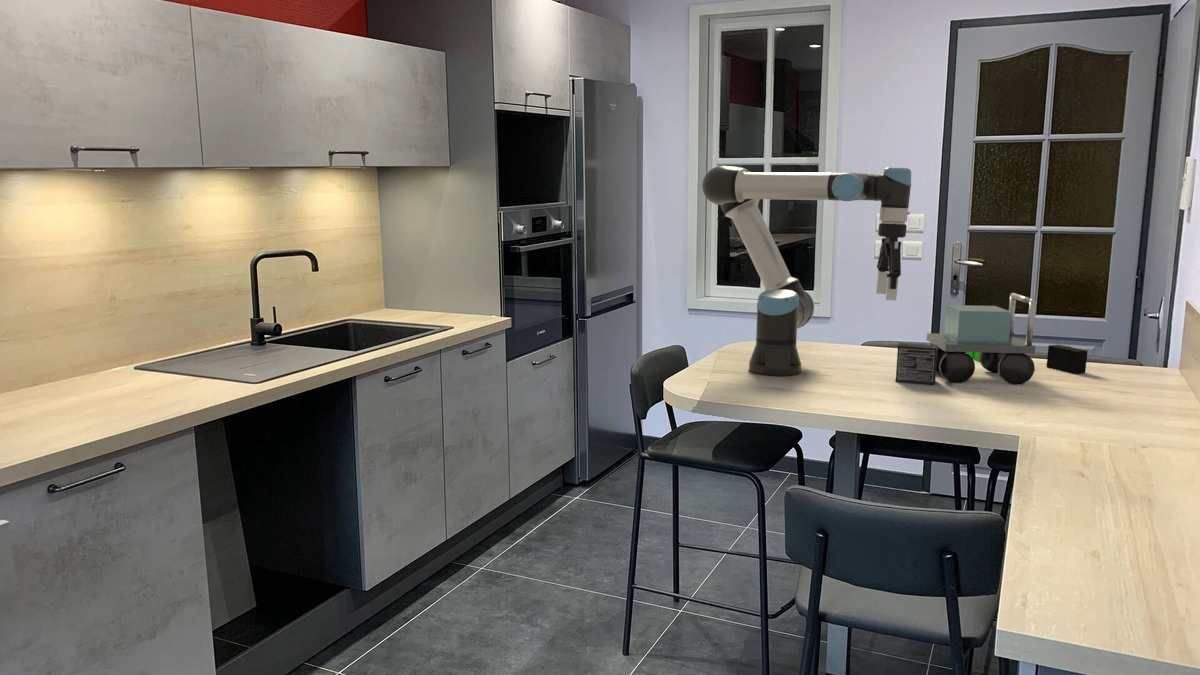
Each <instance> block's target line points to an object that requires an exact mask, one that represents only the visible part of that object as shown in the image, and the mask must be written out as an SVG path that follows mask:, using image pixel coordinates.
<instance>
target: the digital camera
mask: <svg viewBox="0 0 1200 675" xmlns="http://www.w3.org/2000/svg"><path fill="white" fill-rule="evenodd" d="M1088 352H1089V351H1088V350H1087V349H1081V348H1076V347H1071V346H1069V345H1062V344H1052V345H1051V344H1050V345H1048V348H1047V356H1046V357H1047V358H1046V367H1045V368H1047V369H1051V368H1052V370H1055V369H1056V370H1055V371H1059V370H1060V372H1064V373H1067V372H1068V374H1072V375H1081V374H1086V370H1087V360H1088Z"/></svg>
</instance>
